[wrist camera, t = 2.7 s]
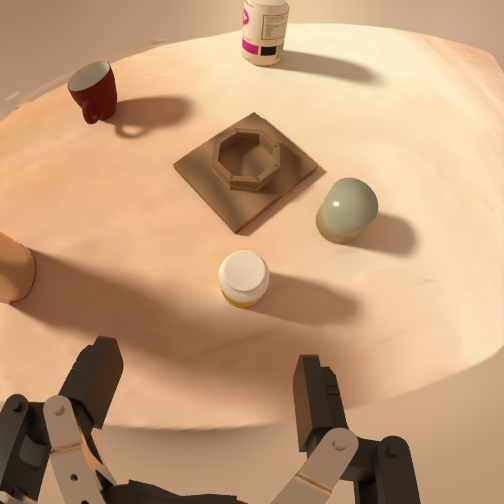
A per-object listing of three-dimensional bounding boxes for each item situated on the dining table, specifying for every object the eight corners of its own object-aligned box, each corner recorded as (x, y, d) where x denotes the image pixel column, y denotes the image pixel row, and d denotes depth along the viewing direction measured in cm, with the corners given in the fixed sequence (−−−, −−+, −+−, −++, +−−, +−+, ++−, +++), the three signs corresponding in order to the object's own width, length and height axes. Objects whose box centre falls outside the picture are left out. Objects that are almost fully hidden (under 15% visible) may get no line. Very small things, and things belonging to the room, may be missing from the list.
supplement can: (238, 64, 50) (239, 3, 35) (247, 45, 52) (250, -10, 38) (277, 70, 49) (287, 9, 35) (283, 51, 52) (292, -5, 38)
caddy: (235, 234, 39) (235, 223, 35) (174, 168, 41) (170, 154, 38) (315, 169, 42) (321, 156, 39) (253, 116, 45) (255, 102, 42)
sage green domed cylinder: (338, 253, 39) (358, 235, 32) (306, 219, 40) (319, 196, 33) (365, 225, 40) (387, 204, 33) (335, 194, 41) (351, 169, 35)
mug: (123, 130, 43) (105, 90, 34) (83, 143, 42) (60, 107, 33) (126, 93, 46) (112, 56, 37) (89, 105, 45) (72, 70, 36)
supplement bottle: (212, 283, 37) (204, 264, 27) (246, 258, 38) (249, 231, 29) (239, 317, 36) (239, 309, 26) (272, 291, 37) (285, 274, 27)
